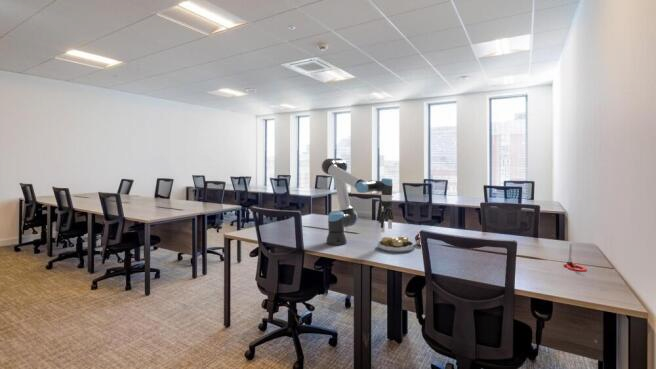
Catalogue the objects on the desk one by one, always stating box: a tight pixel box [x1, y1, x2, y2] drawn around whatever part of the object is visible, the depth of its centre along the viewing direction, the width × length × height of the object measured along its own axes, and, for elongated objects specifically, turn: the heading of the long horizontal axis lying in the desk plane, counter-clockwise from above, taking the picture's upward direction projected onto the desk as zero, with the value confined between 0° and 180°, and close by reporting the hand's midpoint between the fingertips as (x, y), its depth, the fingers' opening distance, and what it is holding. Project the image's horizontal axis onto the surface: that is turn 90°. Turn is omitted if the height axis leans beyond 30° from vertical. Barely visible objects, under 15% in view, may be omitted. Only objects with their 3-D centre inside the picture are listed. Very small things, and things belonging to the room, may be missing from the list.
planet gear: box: [381, 236, 394, 246], centre depth 228 cm, size 7×7×5 cm
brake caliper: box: [414, 232, 421, 247], centre depth 231 cm, size 11×11×12 cm
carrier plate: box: [377, 236, 415, 254], centre depth 225 cm, size 24×24×7 cm
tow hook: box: [562, 243, 587, 272], centre depth 175 cm, size 8×13×9 cm
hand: (386, 230), depth 228 cm, fingers open, 13 cm apart
